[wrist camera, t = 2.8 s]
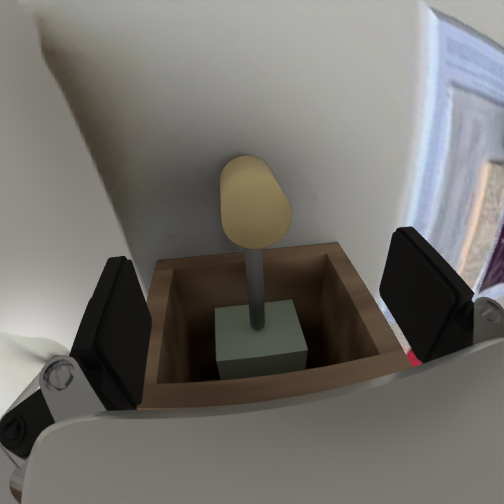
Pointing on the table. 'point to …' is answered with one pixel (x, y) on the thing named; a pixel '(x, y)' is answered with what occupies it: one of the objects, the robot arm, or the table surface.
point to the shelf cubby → (275, 289)
